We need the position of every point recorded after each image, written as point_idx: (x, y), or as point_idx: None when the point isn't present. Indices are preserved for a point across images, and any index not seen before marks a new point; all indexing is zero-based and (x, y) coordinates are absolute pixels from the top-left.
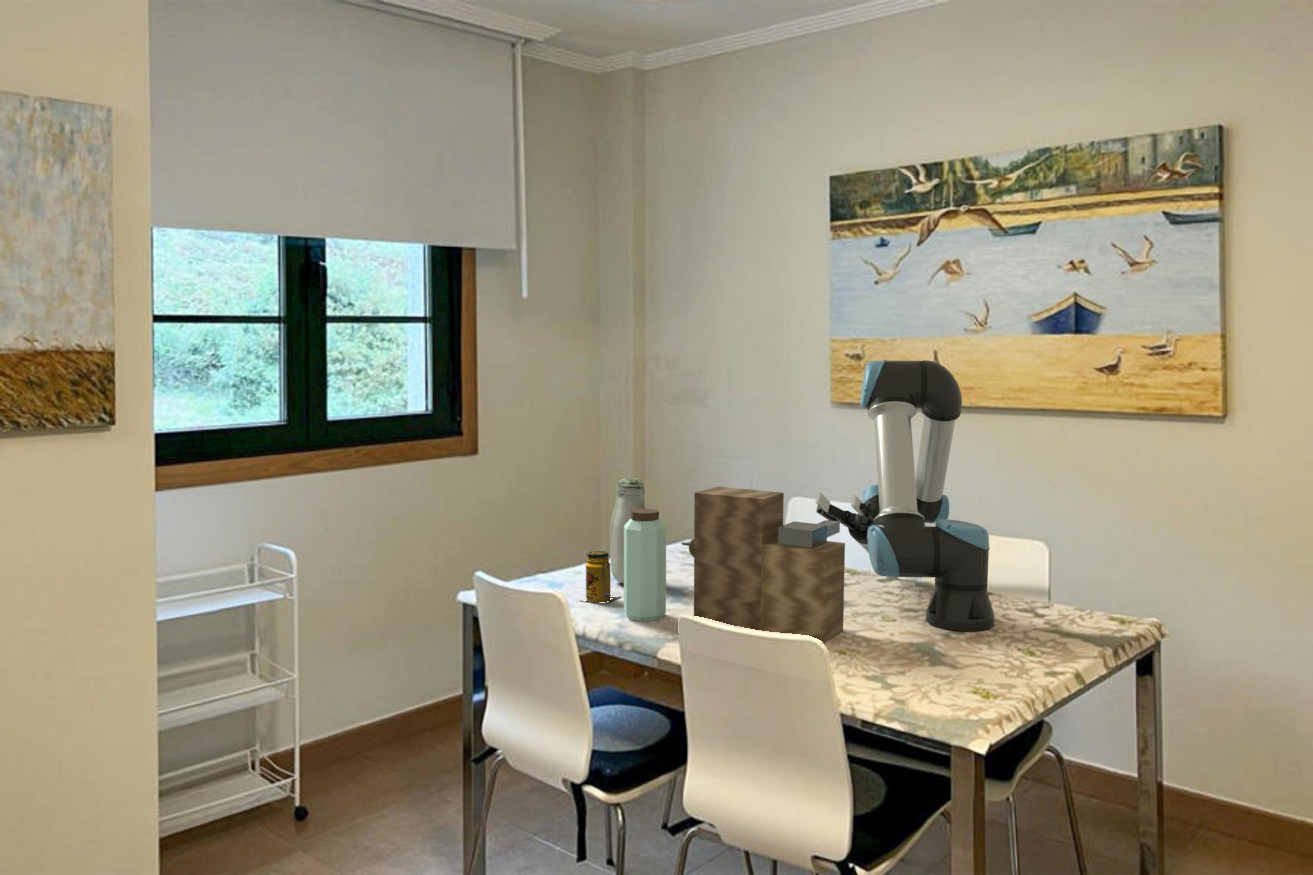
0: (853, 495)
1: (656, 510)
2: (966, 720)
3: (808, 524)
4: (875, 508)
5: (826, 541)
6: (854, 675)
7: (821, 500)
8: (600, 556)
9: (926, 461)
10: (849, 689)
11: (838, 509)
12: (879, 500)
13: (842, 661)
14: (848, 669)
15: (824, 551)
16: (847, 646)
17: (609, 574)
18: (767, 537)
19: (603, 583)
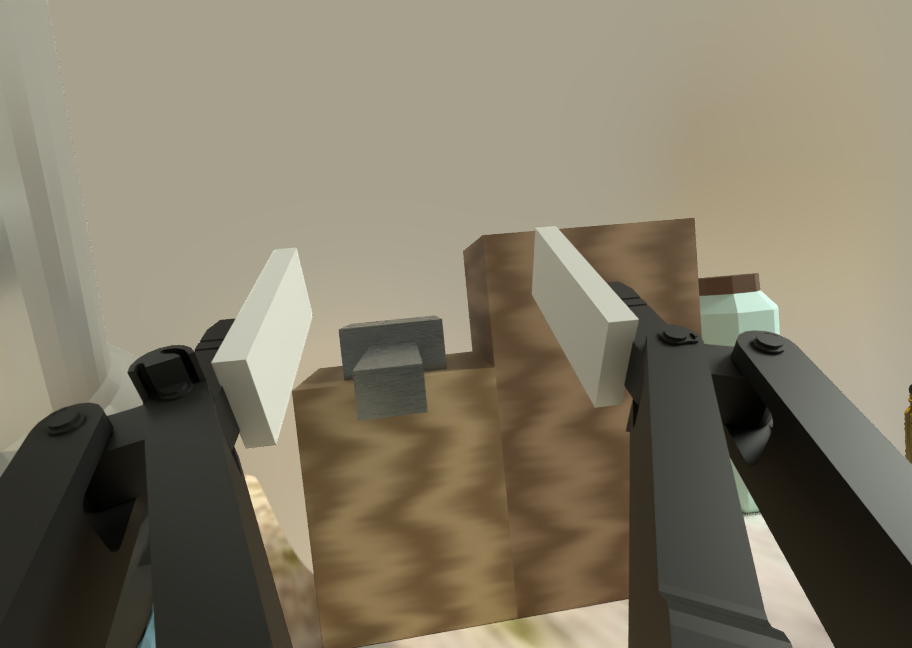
0: (294, 249)
1: (720, 277)
2: None
3: (387, 323)
4: (85, 409)
5: (344, 376)
6: (254, 511)
7: (544, 285)
8: (909, 388)
9: None
10: (256, 488)
11: (650, 468)
12: (97, 285)
13: (282, 532)
14: (267, 519)
15: (321, 368)
16: (287, 582)
17: None
18: (476, 344)
19: (909, 453)
